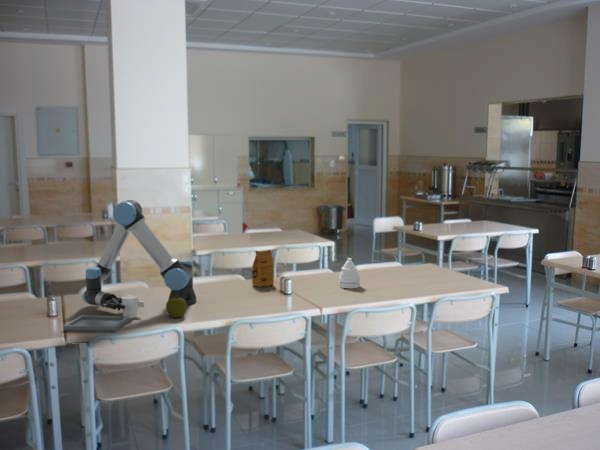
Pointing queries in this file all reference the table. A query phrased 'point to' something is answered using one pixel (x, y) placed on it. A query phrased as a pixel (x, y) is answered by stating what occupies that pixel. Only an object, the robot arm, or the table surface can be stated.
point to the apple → (176, 307)
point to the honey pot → (349, 275)
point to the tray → (96, 323)
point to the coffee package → (263, 269)
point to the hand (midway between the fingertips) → (136, 306)
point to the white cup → (133, 302)
